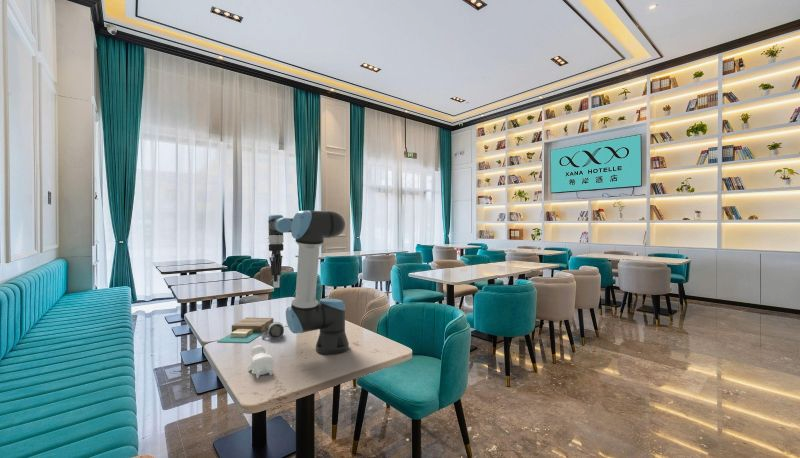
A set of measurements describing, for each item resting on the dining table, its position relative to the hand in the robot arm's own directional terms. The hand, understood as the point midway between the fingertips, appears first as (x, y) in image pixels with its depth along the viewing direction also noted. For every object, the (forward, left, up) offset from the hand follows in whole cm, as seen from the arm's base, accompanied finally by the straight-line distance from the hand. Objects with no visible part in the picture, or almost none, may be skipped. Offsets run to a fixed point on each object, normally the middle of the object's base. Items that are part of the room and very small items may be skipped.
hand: (276, 287), depth 188 cm
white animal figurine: (-49, -14, -25) cm, 56 cm away
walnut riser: (+5, +16, -24) cm, 29 cm away
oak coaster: (-7, +16, -24) cm, 29 cm away
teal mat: (-10, +15, -24) cm, 30 cm away
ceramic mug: (-8, -2, -25) cm, 26 cm away
